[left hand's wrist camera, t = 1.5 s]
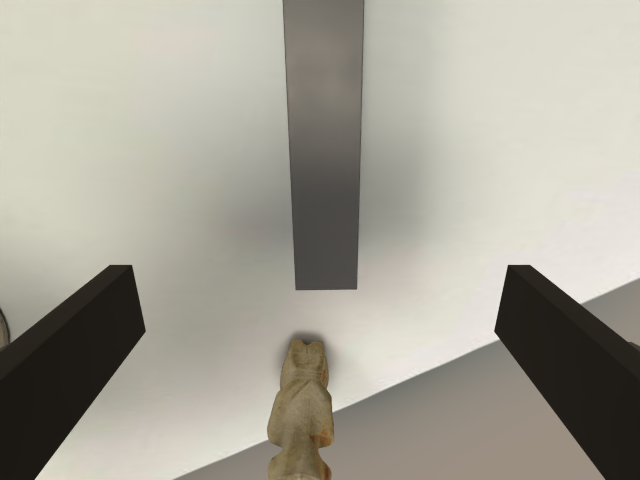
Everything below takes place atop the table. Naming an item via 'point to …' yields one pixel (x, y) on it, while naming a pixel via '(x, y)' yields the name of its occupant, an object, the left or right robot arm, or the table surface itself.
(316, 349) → the sculpture
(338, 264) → the plank
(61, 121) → the table surface
